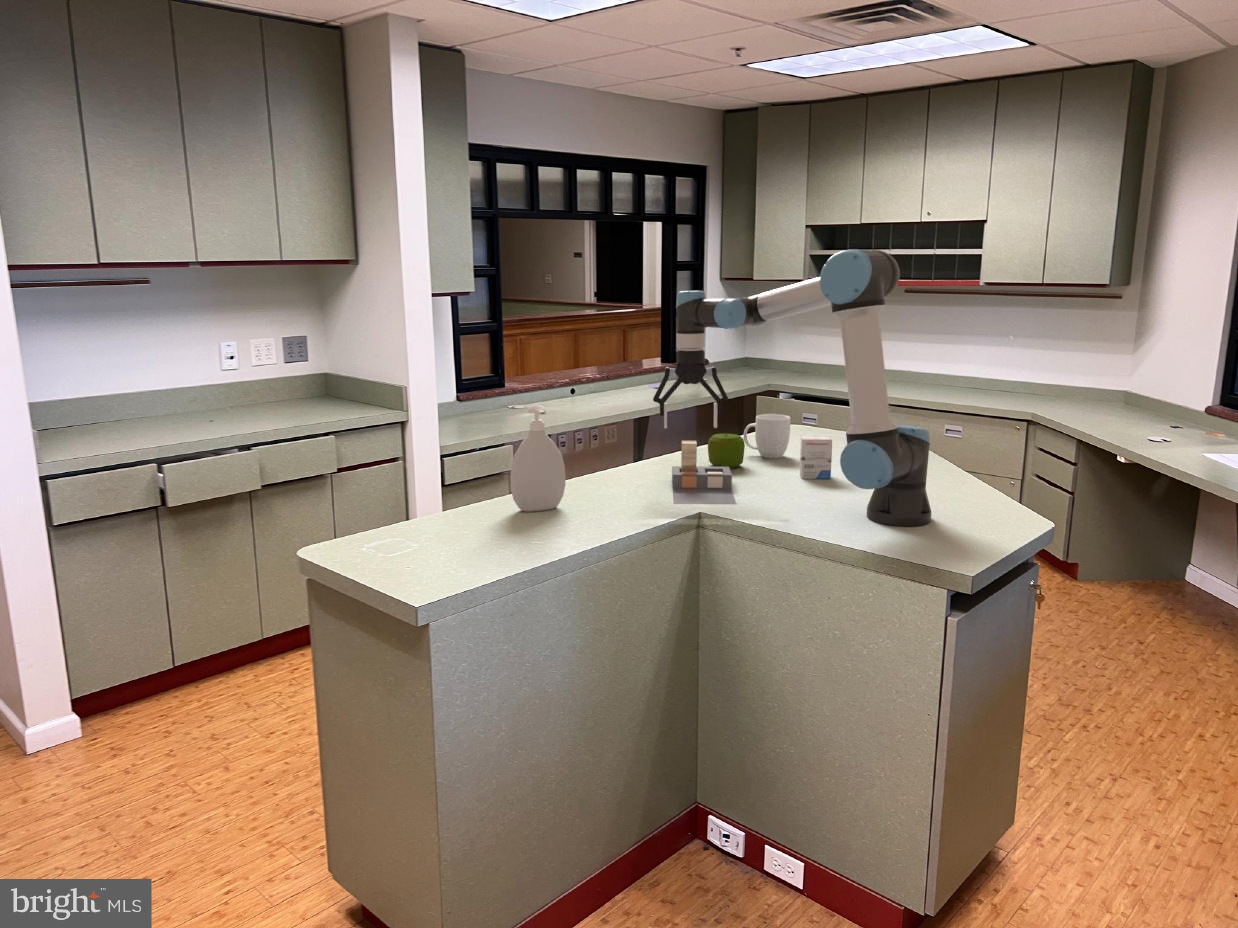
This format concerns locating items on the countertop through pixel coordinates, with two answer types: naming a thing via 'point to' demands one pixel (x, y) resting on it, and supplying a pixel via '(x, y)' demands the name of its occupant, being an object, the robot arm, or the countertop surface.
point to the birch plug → (689, 456)
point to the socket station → (702, 486)
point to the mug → (770, 435)
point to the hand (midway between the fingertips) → (690, 427)
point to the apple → (726, 450)
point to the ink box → (815, 457)
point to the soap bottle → (537, 469)
